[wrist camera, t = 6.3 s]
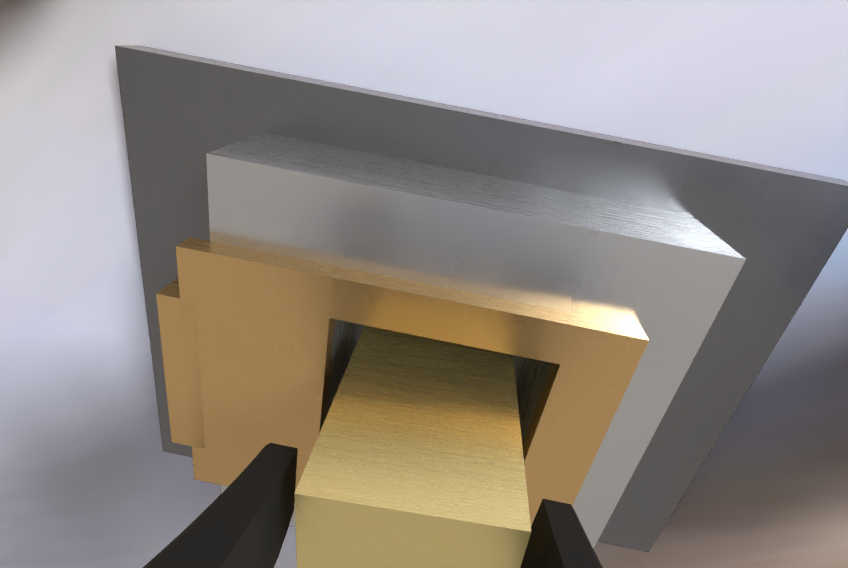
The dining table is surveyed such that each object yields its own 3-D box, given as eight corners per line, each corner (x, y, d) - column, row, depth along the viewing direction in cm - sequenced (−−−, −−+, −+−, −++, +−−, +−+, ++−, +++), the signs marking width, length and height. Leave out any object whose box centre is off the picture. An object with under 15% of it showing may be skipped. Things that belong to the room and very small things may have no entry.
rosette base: (844, 180, 13) (1010, 241, 9) (640, 529, 20) (682, 653, 16) (139, 45, 13) (-11, 44, 9) (177, 433, 20) (100, 531, 16)
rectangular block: (508, 314, 15) (531, 532, 8) (487, 416, 17) (491, 659, 10) (376, 296, 15) (294, 493, 8) (370, 398, 17) (299, 626, 10)
